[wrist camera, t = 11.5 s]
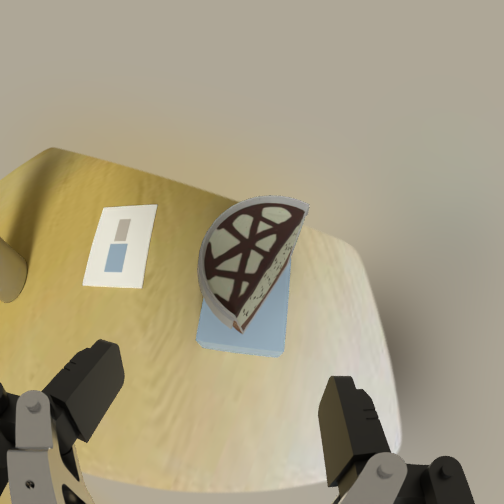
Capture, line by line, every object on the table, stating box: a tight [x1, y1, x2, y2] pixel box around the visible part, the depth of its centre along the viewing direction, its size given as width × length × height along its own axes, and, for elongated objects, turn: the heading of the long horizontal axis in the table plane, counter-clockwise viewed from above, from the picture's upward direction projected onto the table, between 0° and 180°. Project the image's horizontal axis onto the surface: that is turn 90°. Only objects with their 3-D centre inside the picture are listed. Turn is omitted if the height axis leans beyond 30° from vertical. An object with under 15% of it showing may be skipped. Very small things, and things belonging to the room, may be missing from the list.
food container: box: [197, 195, 309, 334], centre depth 25 cm, size 12×6×10 cm, turn 148°
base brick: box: [196, 259, 291, 357], centre depth 32 cm, size 9×14×5 cm, turn 173°
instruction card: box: [82, 204, 158, 288], centre depth 37 cm, size 10×14×1 cm
